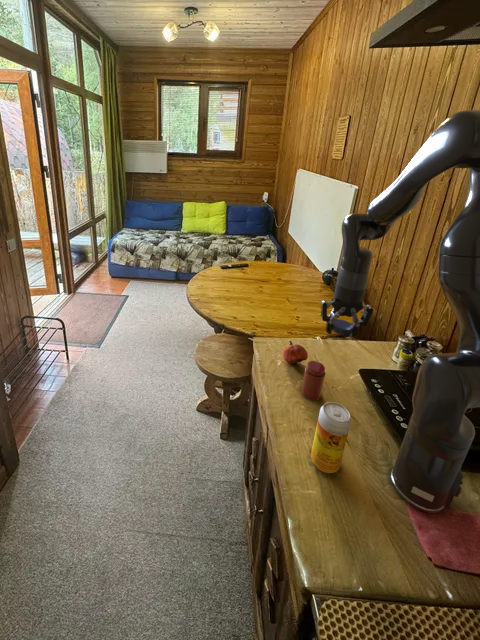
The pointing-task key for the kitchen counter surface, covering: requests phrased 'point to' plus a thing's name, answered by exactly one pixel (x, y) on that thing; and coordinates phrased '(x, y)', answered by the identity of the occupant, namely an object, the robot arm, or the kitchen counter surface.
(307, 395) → the jar
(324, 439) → the beer can
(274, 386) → the kitchen counter surface
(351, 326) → the lid
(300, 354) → the pomegranate
